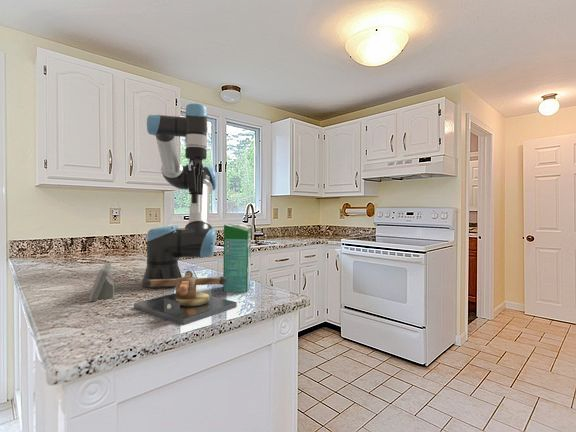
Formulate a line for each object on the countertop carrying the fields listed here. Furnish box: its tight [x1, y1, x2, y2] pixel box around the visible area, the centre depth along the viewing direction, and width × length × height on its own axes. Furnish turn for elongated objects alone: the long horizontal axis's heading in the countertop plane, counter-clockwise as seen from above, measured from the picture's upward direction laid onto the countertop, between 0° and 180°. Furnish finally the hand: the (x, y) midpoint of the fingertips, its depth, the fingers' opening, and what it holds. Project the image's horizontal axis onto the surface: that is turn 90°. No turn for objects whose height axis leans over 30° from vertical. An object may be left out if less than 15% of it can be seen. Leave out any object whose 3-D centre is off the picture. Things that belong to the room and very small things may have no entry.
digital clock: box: [88, 262, 116, 302], centre depth 112 cm, size 16×9×11 cm, turn 13°
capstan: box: [144, 270, 226, 306], centre depth 101 cm, size 25×25×7 cm
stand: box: [133, 292, 238, 326], centre depth 100 cm, size 24×21×6 cm
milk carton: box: [222, 223, 252, 293], centre depth 125 cm, size 9×9×25 cm
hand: (195, 212), depth 119 cm, fingers closed
